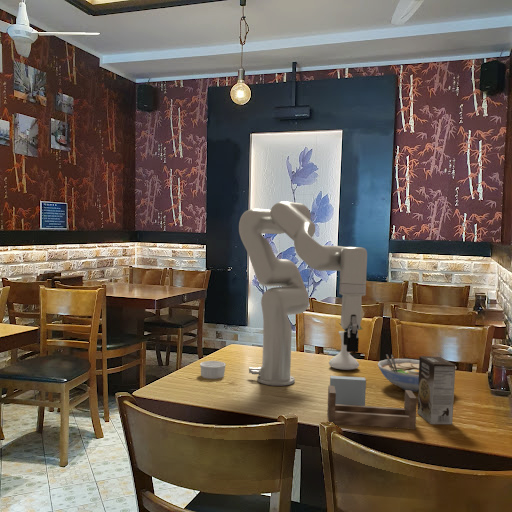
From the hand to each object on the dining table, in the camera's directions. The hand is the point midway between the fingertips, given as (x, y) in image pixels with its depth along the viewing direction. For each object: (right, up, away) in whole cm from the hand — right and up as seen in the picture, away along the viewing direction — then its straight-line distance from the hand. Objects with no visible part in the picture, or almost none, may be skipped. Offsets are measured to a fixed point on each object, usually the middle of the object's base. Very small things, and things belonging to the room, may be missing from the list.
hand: (350, 348), depth 146 cm
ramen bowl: (+24, -17, +20) cm, 35 cm away
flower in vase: (+6, -16, +44) cm, 47 cm away
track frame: (+3, -17, -13) cm, 22 cm away
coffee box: (+21, -18, -9) cm, 29 cm away
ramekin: (-42, -15, +27) cm, 53 cm away
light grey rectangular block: (-1, -17, 0) cm, 17 cm away
